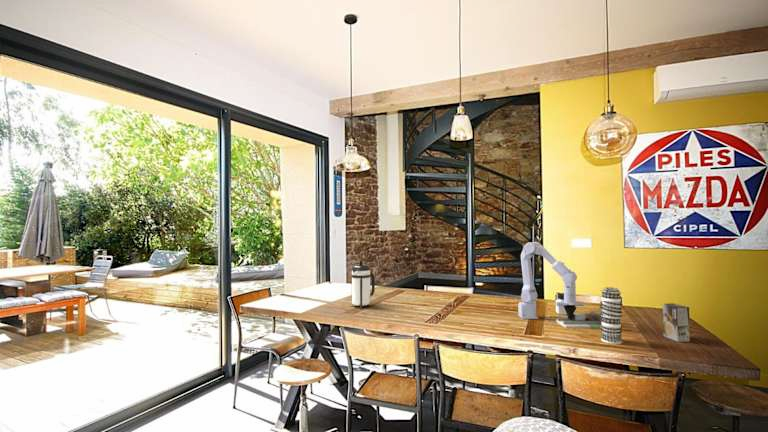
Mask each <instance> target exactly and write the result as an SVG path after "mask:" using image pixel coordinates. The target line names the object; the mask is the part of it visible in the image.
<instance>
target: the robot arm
mask: <svg viewBox="0 0 768 432" xmlns="http://www.w3.org/2000/svg"><path fill="white" fill-rule="evenodd" d="M534 255H538V256H541V257H543V258H544V259H545V260H546V261H547V262H548V263H549V264H551V266H552V270H554V271H555V272H556V273H557V275H559V276H560V277H561V279H562V282H563V293H564V301H562V302H556V301H555V307H556V306H564V308H565V310H566V313H567V315H566V316H567V318H568V319H569V320H572V316H573V313H575V311H576V310H577V307H585V302H584V301H576V297H577V296H576V293H577V292H576V289H577V288H576V287H577V286H576V281H577V279H578V276H577V274H576V272H574V271H572V270H571V269H570V268H568V267H567V266H566V265H565V263H564V262H563V261H560V260H559V261H558V260H557V259H556V258H555V257H554V256H553V255H552V254H551V253H550V252H549V251H548V250H547V249H546V247H544V245H542V244H541V243H540V242H539V241H533V242H529V241H528V242H527V243H525V245H523V248H522V251H521V253H520V262H521V264H520V265H521V272H522V273H521V274H522V283H523V286H522V288H521V294H520V298H521V300H522V301H520V302H518V306H517V307H518V308H517V310H518V314H517V316H518V317H519V318H521V319H523V320H524V319H527V320H531V319H532V320H539V319H540V318H539V317H538V316H537V301H536V300H537V299H538V297H539V295H538V292H537V290H536V287H535V285H534V278H533V271H532V270H533V269H532V261H531V258H532V257H533V256H534Z"/></svg>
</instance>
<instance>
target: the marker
mask: <svg viewBox="0 0 768 432" xmlns="http://www.w3.org/2000/svg"><path fill="white" fill-rule="evenodd" d="M584 315H585V318H587V319H588V320H585V321H595V315H593V314H591V313H590V312H589V313H584Z"/></svg>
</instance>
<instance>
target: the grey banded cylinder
mask: <svg viewBox="0 0 768 432" xmlns="http://www.w3.org/2000/svg"><path fill="white" fill-rule="evenodd" d="M621 293H622V292H621V291H620V290H619V289H618V288H616V287H610V286H607V287H603V289H602V290H601V301H600V302H599V304H600V305H599V307H601V308H602V309H601V311H600V315H601V316H602V325H601V327H602V328H600V340H601V342H603V343H607V344H612V345H620V344H622V340H623V339H622V337H623V335H622V333H623V332H622V330H623V328H622V324H621V319H622V317H623V316H622V315H621V314H622V313H623V311H622V310H623V308H622V306H623V300H621V299H622V298H621Z"/></svg>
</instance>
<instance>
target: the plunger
mask: <svg viewBox="0 0 768 432" xmlns="http://www.w3.org/2000/svg"><path fill="white" fill-rule="evenodd" d="M585 320H588V319H587V318H585V313H582V312H574V313H573V316H572V320H571V321H585Z"/></svg>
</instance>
